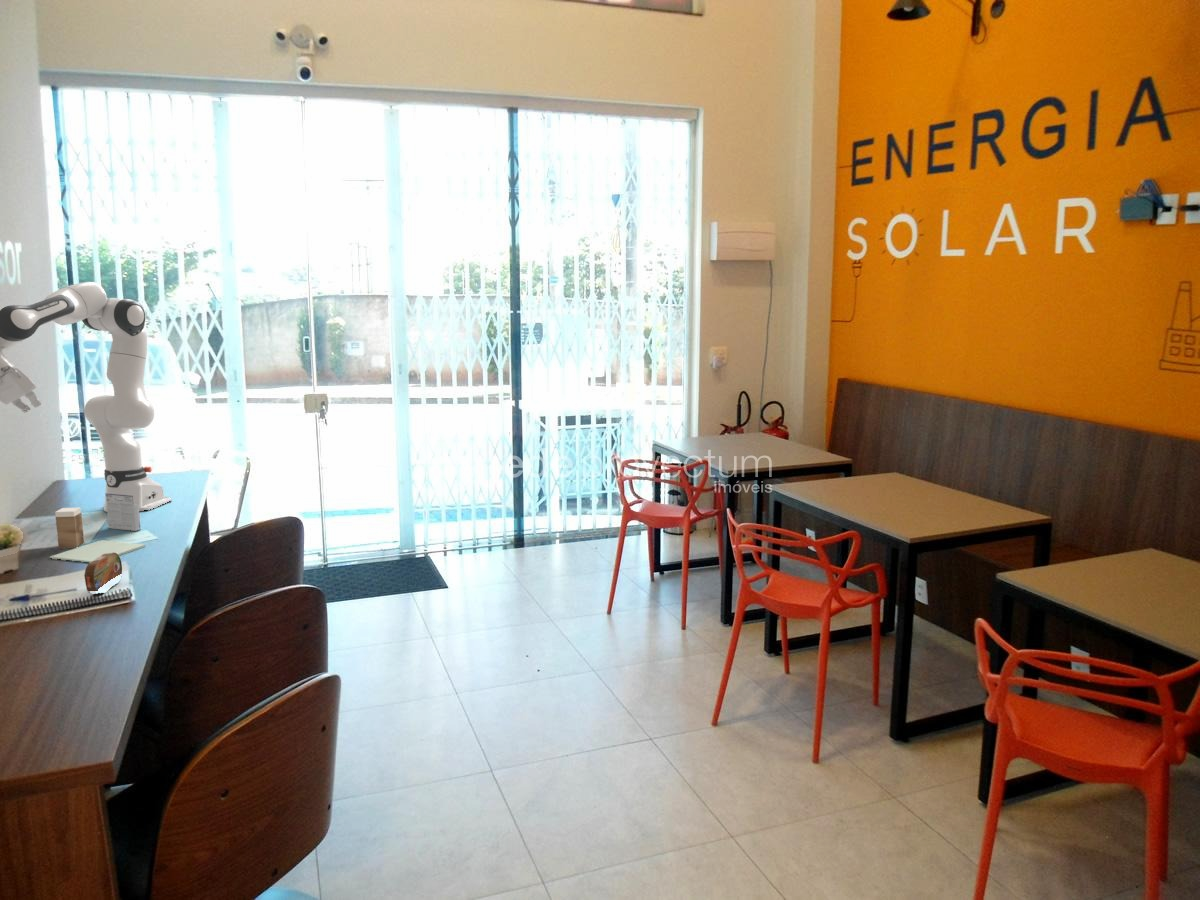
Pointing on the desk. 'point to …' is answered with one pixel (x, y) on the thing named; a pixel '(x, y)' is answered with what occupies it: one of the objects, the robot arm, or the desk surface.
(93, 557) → the sage mat
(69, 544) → the walnut block
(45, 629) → the desk surface
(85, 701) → the desk surface
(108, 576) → the tin
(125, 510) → the ink box
